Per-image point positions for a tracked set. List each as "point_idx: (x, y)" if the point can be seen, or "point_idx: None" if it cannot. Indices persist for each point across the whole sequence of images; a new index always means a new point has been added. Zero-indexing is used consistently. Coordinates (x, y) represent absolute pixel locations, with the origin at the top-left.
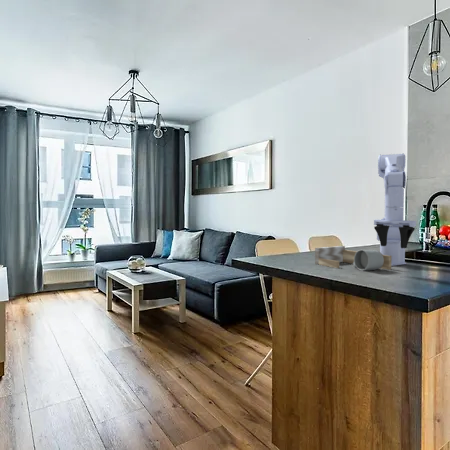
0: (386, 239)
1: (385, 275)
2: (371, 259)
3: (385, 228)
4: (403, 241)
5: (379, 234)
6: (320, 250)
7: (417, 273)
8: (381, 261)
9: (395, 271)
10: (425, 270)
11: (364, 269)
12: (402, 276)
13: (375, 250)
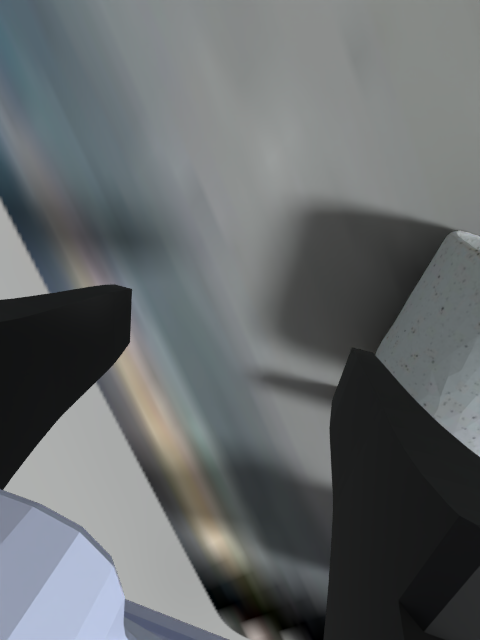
0: (333, 458)
1: (289, 185)
2: (441, 270)
3: (351, 623)
4: (49, 295)
5: (421, 432)
6: None
7: (195, 369)
8: (378, 354)
9: (298, 358)
10: (206, 461)
11: (474, 235)
12: (205, 231)
13: (464, 432)
